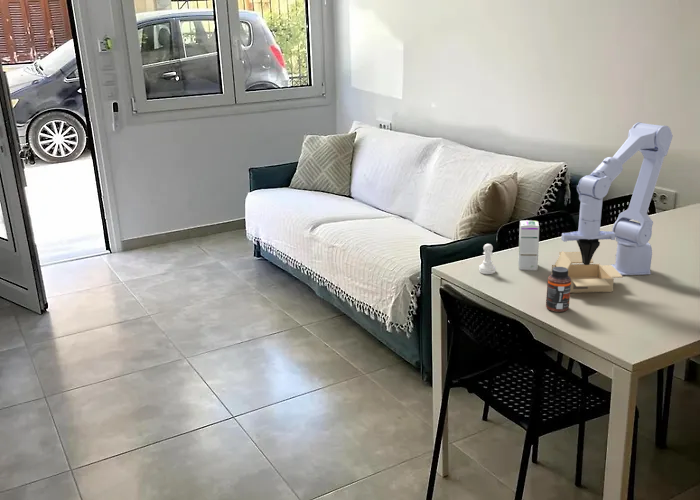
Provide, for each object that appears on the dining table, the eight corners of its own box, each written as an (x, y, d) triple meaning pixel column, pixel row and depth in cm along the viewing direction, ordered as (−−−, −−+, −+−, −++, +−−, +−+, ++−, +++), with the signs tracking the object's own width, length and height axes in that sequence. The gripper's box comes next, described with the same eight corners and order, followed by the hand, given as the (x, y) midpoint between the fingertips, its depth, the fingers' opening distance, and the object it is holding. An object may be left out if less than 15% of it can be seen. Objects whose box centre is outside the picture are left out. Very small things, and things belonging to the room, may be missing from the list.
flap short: (593, 262, 194) (589, 252, 198) (593, 261, 194) (589, 251, 197) (562, 263, 195) (559, 253, 198) (562, 262, 194) (559, 252, 198)
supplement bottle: (565, 314, 172) (568, 274, 168) (542, 310, 175) (545, 270, 171) (571, 306, 177) (574, 267, 173) (549, 302, 180) (552, 263, 176)
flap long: (556, 264, 193) (563, 251, 192) (564, 275, 185) (572, 262, 184) (554, 264, 193) (562, 250, 192) (563, 275, 185) (571, 261, 183)
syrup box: (537, 270, 202) (540, 225, 197) (518, 270, 203) (520, 225, 198) (536, 264, 207) (539, 220, 202) (517, 263, 208) (519, 219, 204)
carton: (608, 276, 196) (609, 263, 194) (629, 298, 180) (630, 284, 179) (551, 277, 196) (551, 264, 195) (566, 299, 181) (567, 285, 180)
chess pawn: (480, 274, 200) (481, 247, 198) (477, 268, 205) (478, 241, 202) (496, 274, 200) (498, 246, 197) (493, 268, 205) (495, 241, 202)
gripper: (610, 213, 187) (606, 258, 192) (559, 215, 188) (556, 259, 192) (620, 220, 181) (615, 266, 185) (567, 222, 181) (563, 268, 185)
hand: (585, 263), depth 188 cm, fingers closed
